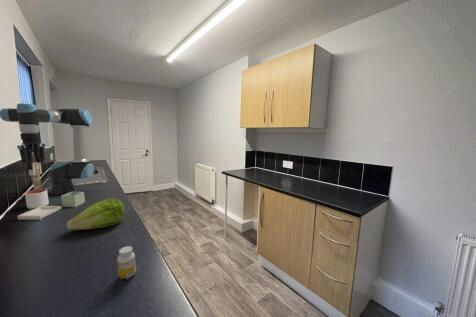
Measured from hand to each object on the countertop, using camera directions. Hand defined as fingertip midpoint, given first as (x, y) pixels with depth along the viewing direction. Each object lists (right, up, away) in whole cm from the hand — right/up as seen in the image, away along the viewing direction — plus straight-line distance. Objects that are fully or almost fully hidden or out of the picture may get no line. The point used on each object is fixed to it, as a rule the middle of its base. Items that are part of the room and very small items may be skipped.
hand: (35, 174), depth 113 cm
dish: (0, -24, +4) cm, 24 cm away
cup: (-14, -22, +15) cm, 30 cm away
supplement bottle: (+76, -32, -43) cm, 93 cm away
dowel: (0, -9, +1) cm, 9 cm away
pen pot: (+7, -22, +18) cm, 29 cm away
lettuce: (+42, -27, -9) cm, 50 cm away
